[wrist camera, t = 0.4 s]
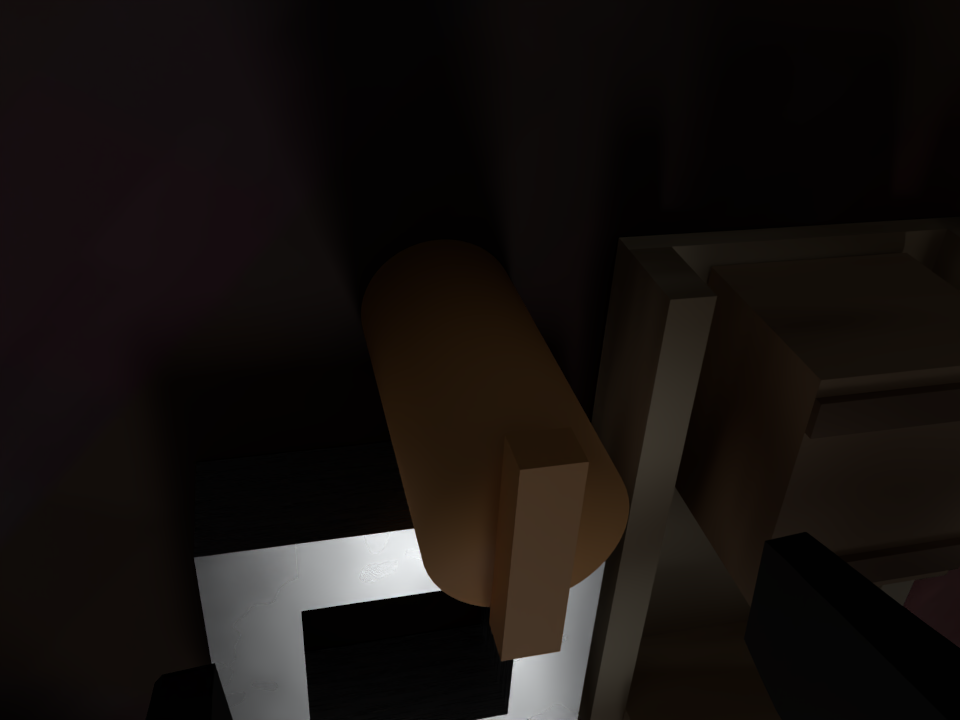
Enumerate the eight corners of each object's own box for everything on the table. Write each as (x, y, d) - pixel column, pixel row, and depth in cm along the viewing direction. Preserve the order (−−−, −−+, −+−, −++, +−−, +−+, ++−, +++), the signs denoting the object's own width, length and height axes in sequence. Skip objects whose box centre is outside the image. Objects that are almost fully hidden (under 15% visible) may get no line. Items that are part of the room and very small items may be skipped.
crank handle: (506, 377, 21) (629, 639, 15) (362, 391, 21) (428, 674, 14) (519, 221, 19) (669, 452, 13) (358, 230, 18) (433, 480, 12)
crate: (837, 452, 25) (952, 581, 21) (667, 474, 23) (754, 614, 20) (906, 252, 21) (1057, 362, 17) (711, 266, 20) (826, 386, 16)
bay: (818, 611, 30) (900, 728, 26) (556, 656, 28) (607, 790, 24) (966, 216, 22) (1110, 305, 18) (618, 237, 20) (706, 342, 16)
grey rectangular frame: (529, 744, 30) (563, 851, 27) (247, 798, 28) (251, 920, 25) (572, 421, 23) (625, 521, 20) (195, 462, 21) (193, 580, 18)
